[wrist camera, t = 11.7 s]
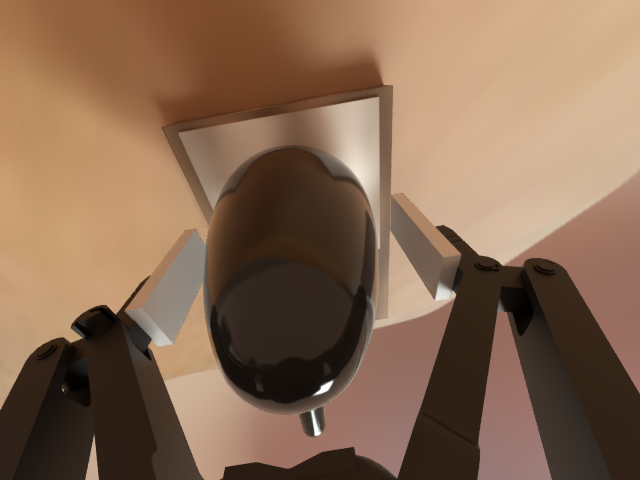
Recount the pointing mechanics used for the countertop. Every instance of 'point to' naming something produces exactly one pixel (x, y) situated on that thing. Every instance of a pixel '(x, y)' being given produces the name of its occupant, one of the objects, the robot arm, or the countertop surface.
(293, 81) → the countertop surface
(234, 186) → the pump dispenser
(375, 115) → the drawing board
